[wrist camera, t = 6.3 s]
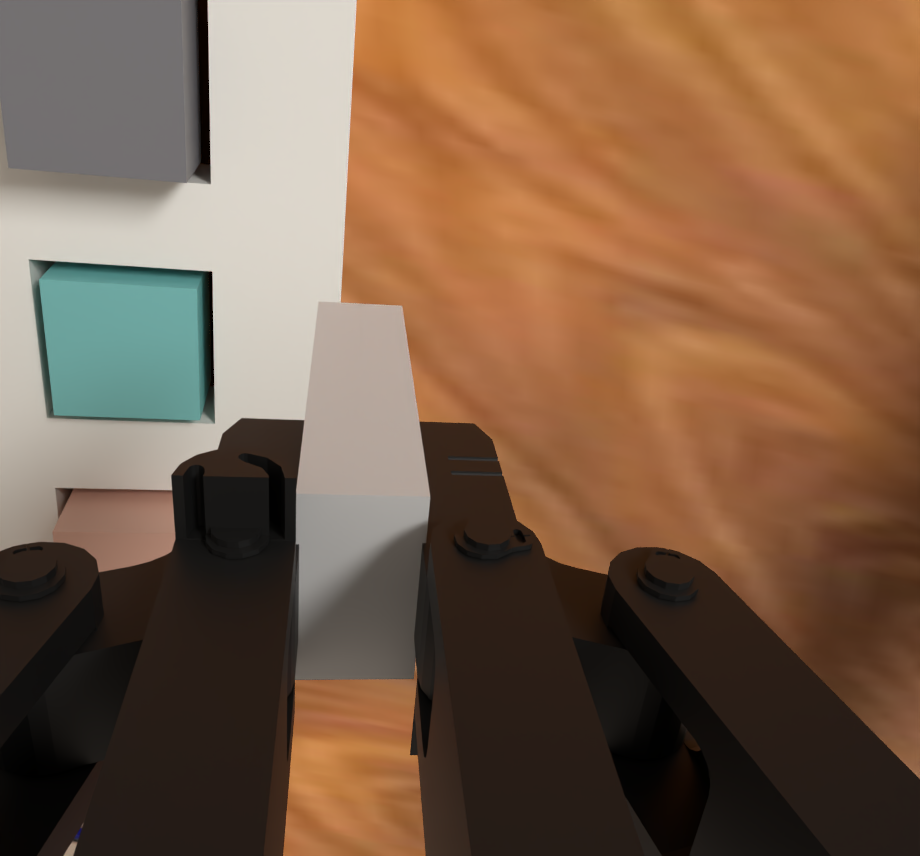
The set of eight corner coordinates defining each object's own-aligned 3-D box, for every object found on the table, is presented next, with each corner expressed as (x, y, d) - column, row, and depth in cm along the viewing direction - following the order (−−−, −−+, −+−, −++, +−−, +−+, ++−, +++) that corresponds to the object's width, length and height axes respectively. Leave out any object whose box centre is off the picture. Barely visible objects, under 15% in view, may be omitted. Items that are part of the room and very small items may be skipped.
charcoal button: (197, -3, 23) (181, -1, 21) (201, 161, 25) (186, 183, 22) (26, -24, 23) (-16, -25, 20) (44, 147, 24) (8, 168, 22)
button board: (354, -30, 25) (358, -32, 23) (323, 578, 35) (323, 626, 32) (-129, -93, 23) (-188, -105, 20) (-16, 578, 33) (-46, 629, 30)
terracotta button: (208, 482, 30) (196, 533, 27) (210, 582, 32) (200, 638, 29) (77, 480, 29) (52, 531, 27) (88, 582, 31) (65, 640, 29)
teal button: (209, 259, 28) (196, 289, 25) (211, 380, 30) (200, 420, 27) (67, 249, 27) (38, 279, 24) (79, 374, 29) (54, 415, 26)
